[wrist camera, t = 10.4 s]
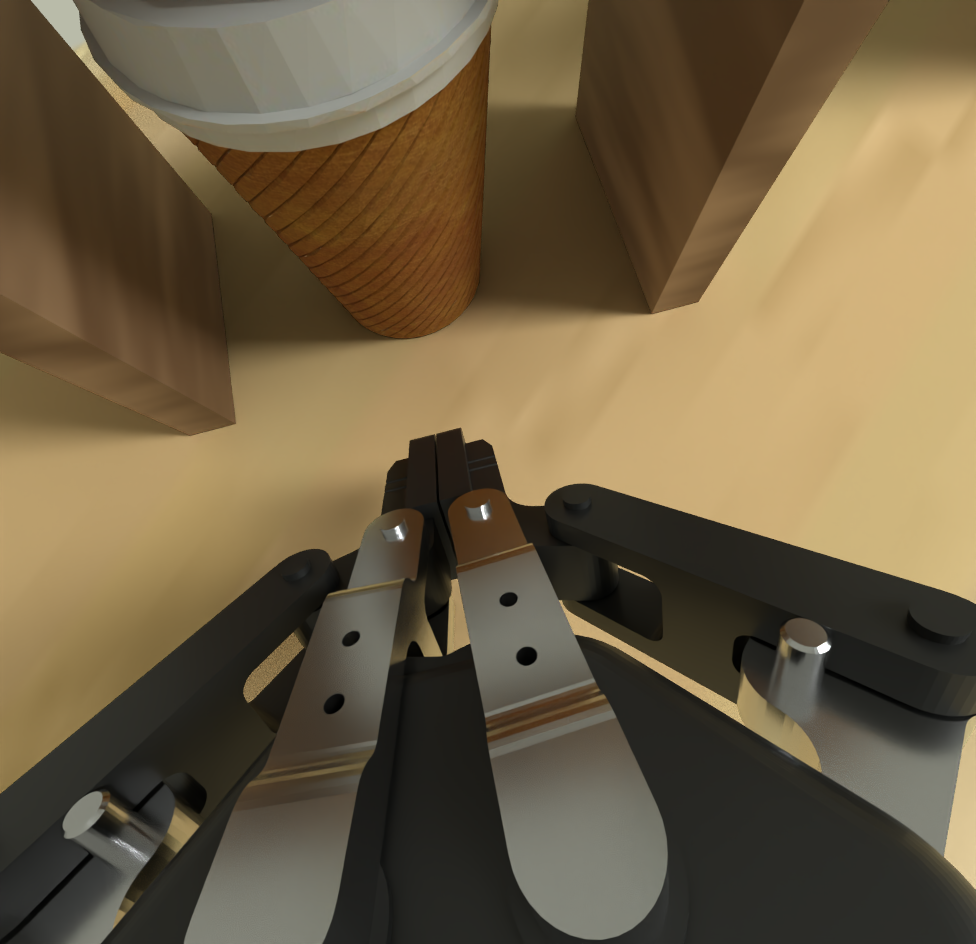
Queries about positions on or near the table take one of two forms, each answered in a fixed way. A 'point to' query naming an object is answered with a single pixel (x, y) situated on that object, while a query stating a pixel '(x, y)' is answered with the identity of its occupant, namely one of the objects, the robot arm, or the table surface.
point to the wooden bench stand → (188, 224)
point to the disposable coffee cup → (330, 131)
